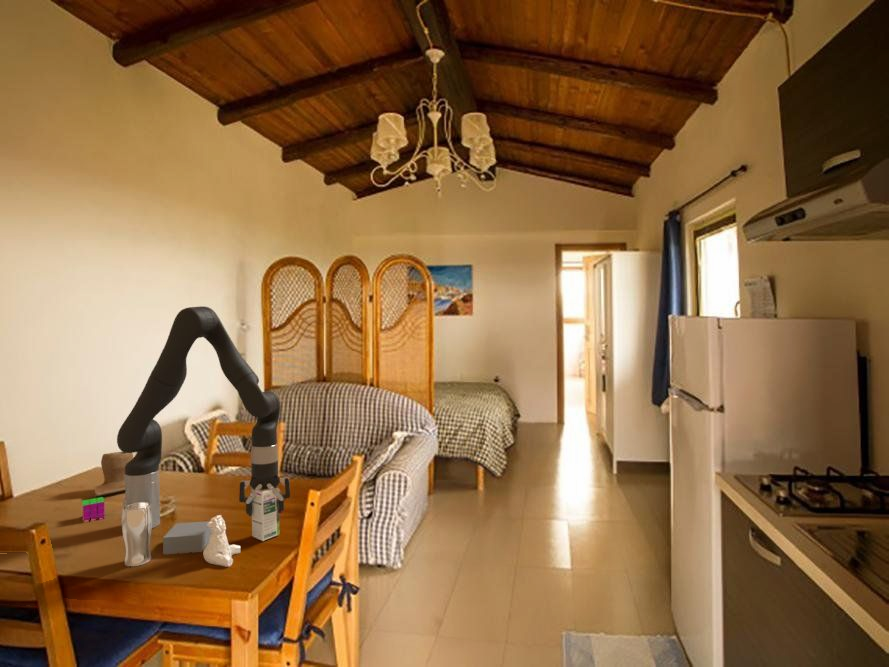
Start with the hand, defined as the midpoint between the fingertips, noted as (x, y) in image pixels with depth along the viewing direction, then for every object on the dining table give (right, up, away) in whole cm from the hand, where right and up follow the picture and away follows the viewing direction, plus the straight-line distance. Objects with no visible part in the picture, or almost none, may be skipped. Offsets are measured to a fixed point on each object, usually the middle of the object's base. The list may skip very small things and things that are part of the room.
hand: (265, 513), depth 152 cm
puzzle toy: (-62, -7, +16) cm, 64 cm away
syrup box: (0, -7, 0) cm, 7 cm away
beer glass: (-29, -8, -15) cm, 33 cm away
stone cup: (-72, -7, +42) cm, 84 cm away
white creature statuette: (-7, -8, -14) cm, 18 cm away
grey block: (-20, -7, -5) cm, 22 cm away
